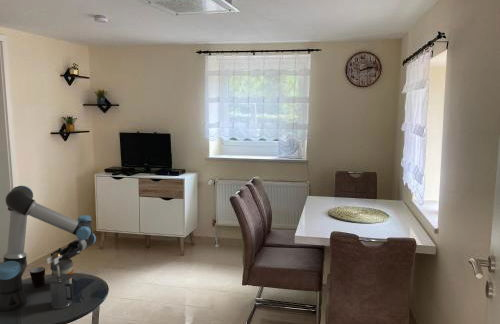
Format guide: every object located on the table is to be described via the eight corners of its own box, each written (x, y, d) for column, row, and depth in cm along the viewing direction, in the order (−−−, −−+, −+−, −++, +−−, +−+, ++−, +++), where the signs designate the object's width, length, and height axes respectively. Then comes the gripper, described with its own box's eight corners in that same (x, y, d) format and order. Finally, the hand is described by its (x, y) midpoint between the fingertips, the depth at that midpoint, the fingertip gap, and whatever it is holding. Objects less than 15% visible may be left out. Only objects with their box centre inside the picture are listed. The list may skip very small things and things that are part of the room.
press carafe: (47, 308, 228) (44, 281, 225) (59, 299, 238) (56, 273, 235) (67, 310, 225) (65, 282, 223) (79, 301, 235) (76, 274, 233)
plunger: (50, 293, 228) (46, 255, 224) (58, 287, 235) (55, 251, 231) (62, 294, 226) (58, 256, 223) (70, 288, 233) (66, 251, 230)
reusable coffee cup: (48, 287, 254) (45, 263, 252) (67, 279, 264) (65, 257, 262) (59, 292, 247) (57, 268, 245) (78, 284, 257) (76, 261, 255)
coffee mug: (40, 288, 252) (38, 273, 251) (27, 287, 254) (26, 272, 252) (52, 280, 264) (51, 265, 262) (41, 279, 265) (39, 264, 264)
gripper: (90, 253, 244) (65, 269, 221) (64, 251, 247) (37, 267, 224) (89, 241, 243) (63, 256, 220) (63, 239, 246) (36, 254, 223)
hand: (50, 261), depth 222 cm, fingers closed on plunger, 4 cm apart
